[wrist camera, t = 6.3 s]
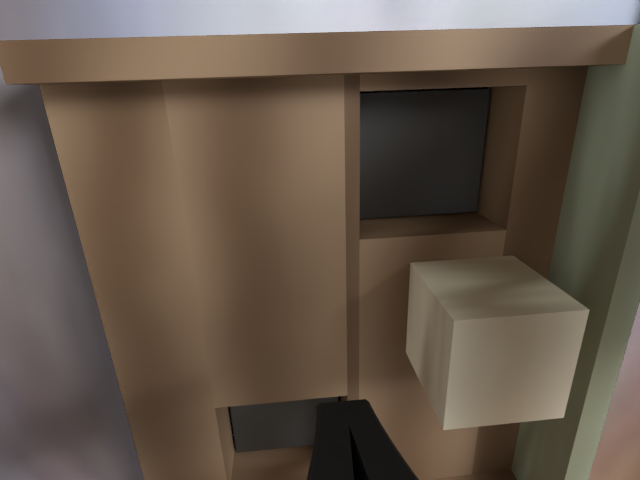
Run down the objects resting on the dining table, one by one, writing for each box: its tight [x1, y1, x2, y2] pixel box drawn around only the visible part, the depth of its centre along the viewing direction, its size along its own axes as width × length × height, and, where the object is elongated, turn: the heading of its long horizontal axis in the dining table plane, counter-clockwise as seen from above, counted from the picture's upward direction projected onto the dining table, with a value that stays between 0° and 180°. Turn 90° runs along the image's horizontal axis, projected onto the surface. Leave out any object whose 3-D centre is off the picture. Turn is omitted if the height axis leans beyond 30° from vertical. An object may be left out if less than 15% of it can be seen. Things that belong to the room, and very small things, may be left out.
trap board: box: [0, 24, 640, 480], centre depth 15 cm, size 18×20×6 cm
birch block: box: [406, 256, 589, 430], centre depth 14 cm, size 4×4×4 cm
